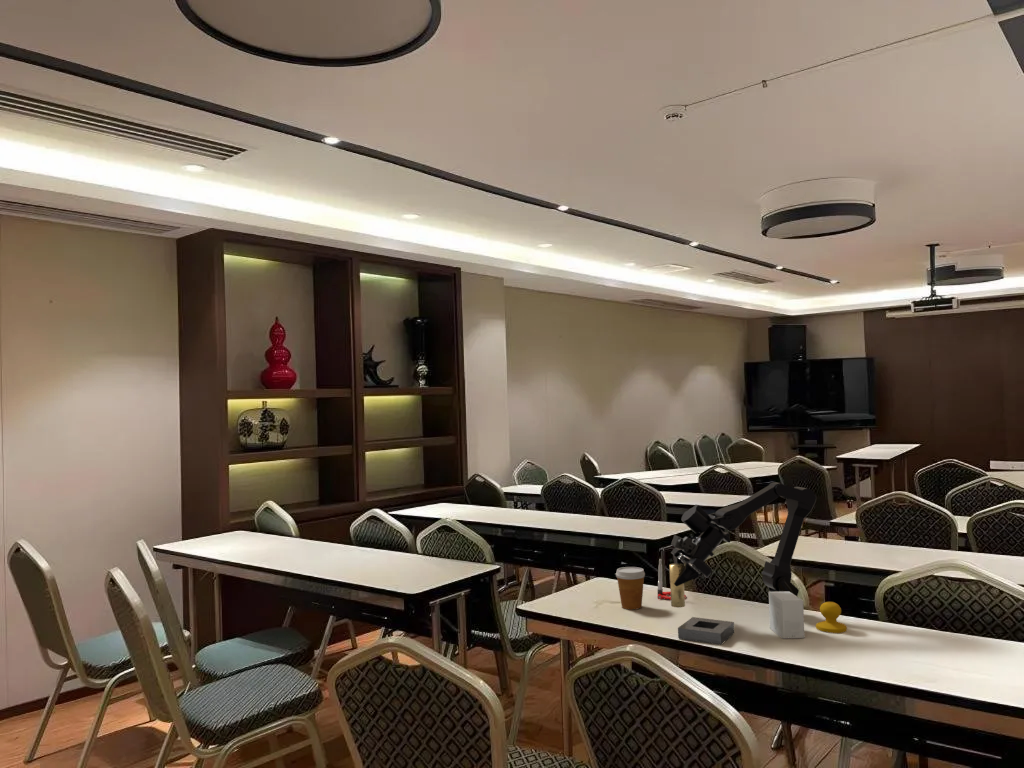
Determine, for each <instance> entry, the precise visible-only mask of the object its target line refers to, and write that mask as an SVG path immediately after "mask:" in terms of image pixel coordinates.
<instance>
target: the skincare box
mask: <svg viewBox="0 0 1024 768" xmlns="http://www.w3.org/2000/svg"><path fill="white" fill-rule="evenodd" d="M768 604H769V605H768V608H769V629H770V630H771V631H772V632H774V633H775V634H776V635H777V636H778V637H780V638H781V639H785V640H786V639H805V616H804V615H805V614H804V613H805V612H804V611H805V610H804V600H803V599H802V598H801V597H799V596H796V595H794V594H792V593H791V592H770V591H768Z"/></svg>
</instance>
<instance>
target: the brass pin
mask: <svg viewBox="0 0 1024 768" xmlns="http://www.w3.org/2000/svg"><path fill="white" fill-rule="evenodd" d="M668 568H669V579H670V582H669V584H670V585H669V586H670V592H671V595H670V597H671V600H670V605H671V607H673V608H685V607H686V598H685V595H686V594H685V593H686V592H685V583H683V584H681V585H679V586H675V585H674V583H675V581H676V579H677V578H678V576H679V575H680V573H681V572H682V570H683V564H676V563H669V567H668Z"/></svg>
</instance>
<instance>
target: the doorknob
mask: <svg viewBox="0 0 1024 768" xmlns="http://www.w3.org/2000/svg"><path fill="white" fill-rule="evenodd" d="M819 611H820V613H821V615H822V616H823V618H824V619H825V620H822V621H818V622H816V623H815V628H816V629H817V630H818V631H819V632H823V633H829V634H842V633H846V632H847V630H848V627H847V625H846V624H845V623H842V622H839V621H837V619H838V618H839V617H840V616H841V614H842V608H841V607H840V605H839V604H838V603H836V602H834V601H825V602H823V603H821V604H820V607H819Z"/></svg>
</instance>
